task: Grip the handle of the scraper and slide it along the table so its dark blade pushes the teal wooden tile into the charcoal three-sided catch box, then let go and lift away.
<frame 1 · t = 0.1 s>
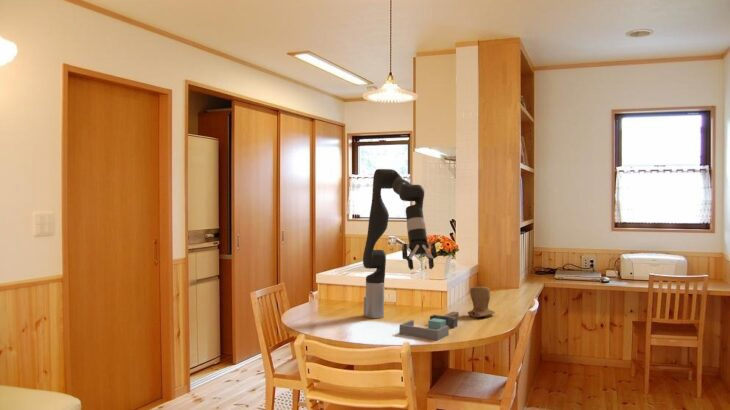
hand: (421, 268, 230), 31 cm above the table, tool tilted 20°, fingers open, 8 cm apart
scraper: (444, 324, 269), on the table
tile: (437, 328, 262), on the table
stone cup: (479, 316, 291), on the table
catch box: (423, 334, 251), on the table
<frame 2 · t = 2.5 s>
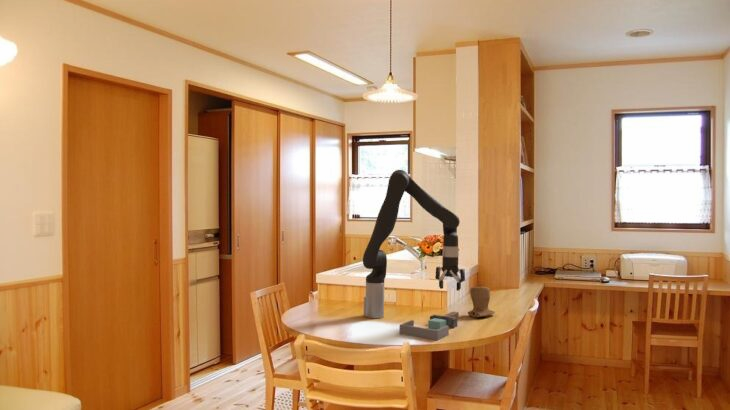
hand: (449, 289, 273), 16 cm above the table, tool pointing down, fingers open, 8 cm apart
nothing on the table moved.
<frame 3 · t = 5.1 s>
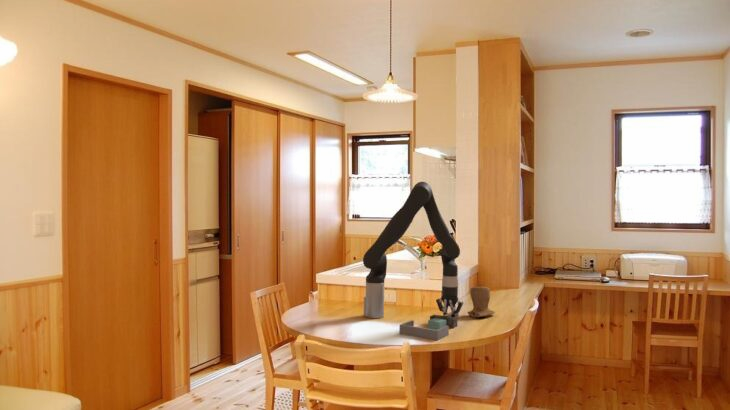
hand: (449, 320, 273), 1 cm above the table, tool pointing down, fingers closed on scraper, 3 cm apart
scraper: (444, 324, 269), on the table, touching gripper
everything else where it was.
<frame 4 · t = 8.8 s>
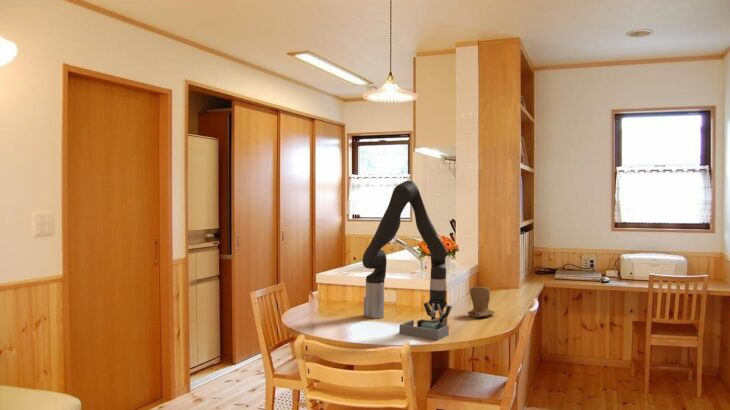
hand: (437, 325, 262), 1 cm above the table, tool pointing down, fingers closed on scraper, 3 cm apart
scraper: (432, 330, 258), on the table, touching gripper
tile: (429, 332, 255), on the table
everything else where it was.
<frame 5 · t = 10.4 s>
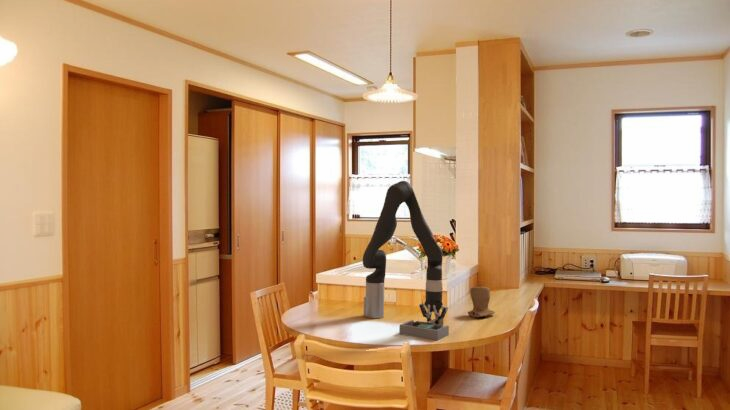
hand: (433, 327, 258), 1 cm above the table, tool pointing down, fingers closed on scraper, 3 cm apart
scraper: (428, 332, 254), on the table, touching gripper
tile: (425, 334, 251), on the table
everything else where it was.
when the fingers open (1 cm above the table, at t = 11.4 s): scraper stays where it is, on the table.
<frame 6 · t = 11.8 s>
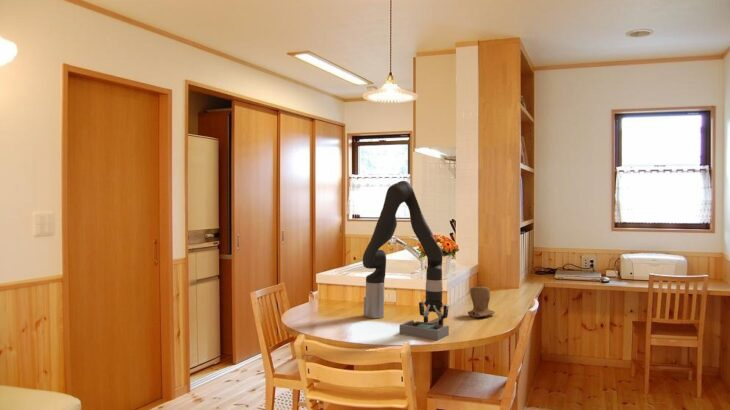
hand: (433, 326, 258), 2 cm above the table, tool pointing down, fingers open, 6 cm apart
scraper: (428, 332, 254), on the table
everything else where it was.
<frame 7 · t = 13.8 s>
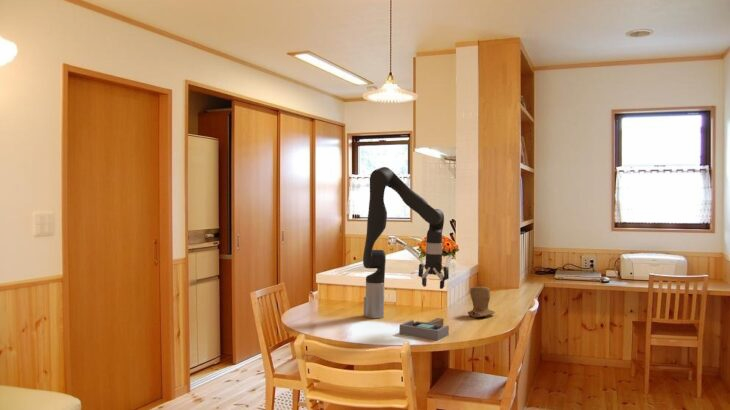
hand: (433, 287, 263), 18 cm above the table, tool pointing down, fingers open, 8 cm apart
nothing on the table moved.
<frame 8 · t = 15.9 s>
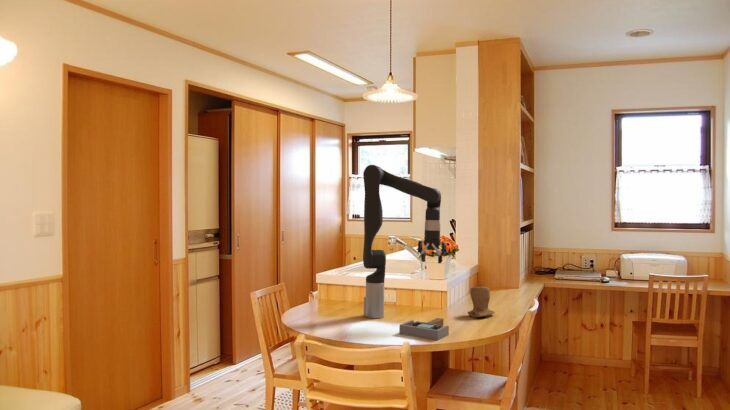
hand: (431, 262, 279), 28 cm above the table, tool pointing down, fingers open, 8 cm apart
nothing on the table moved.
at the end: tile inside the target area (0.5 cm from its centre), on the table; tile tilted 0° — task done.
